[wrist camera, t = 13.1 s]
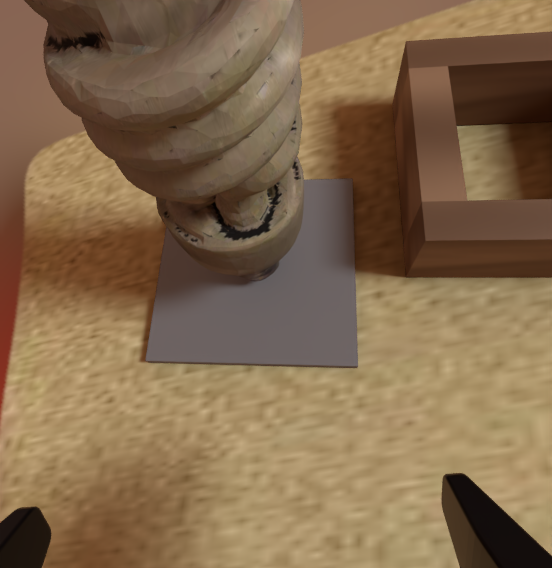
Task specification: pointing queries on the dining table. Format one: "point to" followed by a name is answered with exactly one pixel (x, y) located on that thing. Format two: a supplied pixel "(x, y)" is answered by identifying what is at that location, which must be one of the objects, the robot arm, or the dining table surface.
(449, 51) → the socket block
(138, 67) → the light bulb
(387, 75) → the dining table surface
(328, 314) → the rubber mat
